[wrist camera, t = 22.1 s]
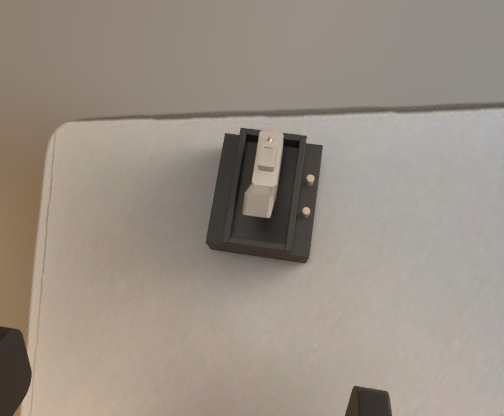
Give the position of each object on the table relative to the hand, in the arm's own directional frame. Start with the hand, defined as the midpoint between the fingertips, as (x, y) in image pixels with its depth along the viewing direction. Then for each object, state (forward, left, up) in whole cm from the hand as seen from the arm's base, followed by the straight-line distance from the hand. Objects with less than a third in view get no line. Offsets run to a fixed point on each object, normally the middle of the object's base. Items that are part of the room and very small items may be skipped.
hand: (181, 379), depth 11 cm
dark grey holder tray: (0, +12, -27) cm, 29 cm away
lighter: (0, +12, -24) cm, 26 cm away
